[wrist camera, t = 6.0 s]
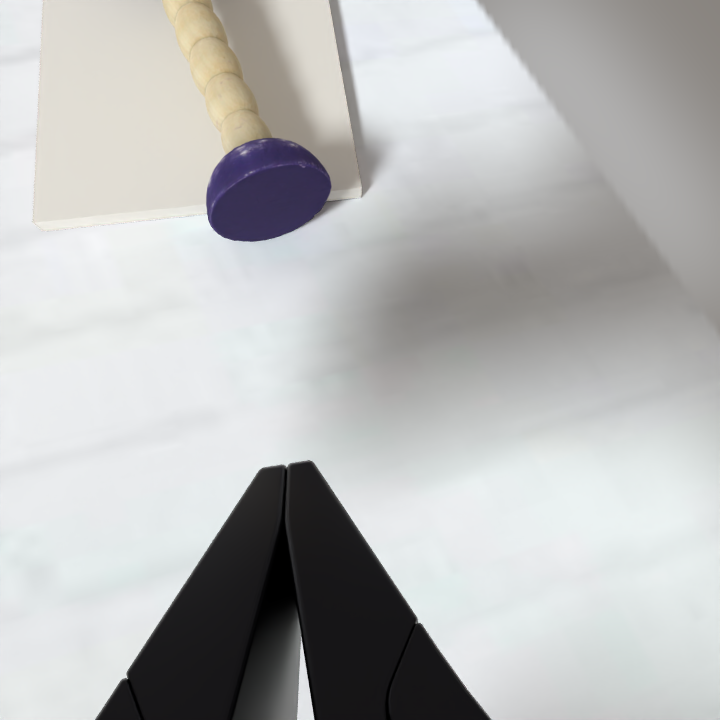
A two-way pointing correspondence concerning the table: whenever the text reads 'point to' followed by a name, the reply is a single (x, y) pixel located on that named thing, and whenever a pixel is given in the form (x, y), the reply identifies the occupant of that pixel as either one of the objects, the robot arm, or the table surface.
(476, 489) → the table surface
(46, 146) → the felt mat
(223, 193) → the toy lamp
